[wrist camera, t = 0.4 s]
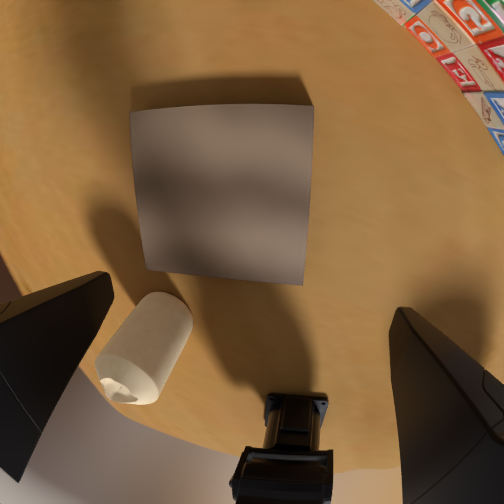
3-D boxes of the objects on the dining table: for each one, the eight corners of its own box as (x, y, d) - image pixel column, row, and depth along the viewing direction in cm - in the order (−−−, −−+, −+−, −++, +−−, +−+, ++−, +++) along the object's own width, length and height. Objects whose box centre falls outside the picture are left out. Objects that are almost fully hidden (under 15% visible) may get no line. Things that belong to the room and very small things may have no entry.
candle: (170, 345, 30) (128, 422, 21) (130, 307, 28) (75, 378, 20) (206, 323, 27) (165, 410, 19) (163, 280, 26) (103, 358, 17)
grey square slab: (303, 271, 23) (302, 285, 22) (157, 258, 25) (146, 269, 24) (313, 106, 18) (314, 105, 16) (143, 110, 20) (129, 112, 18)
